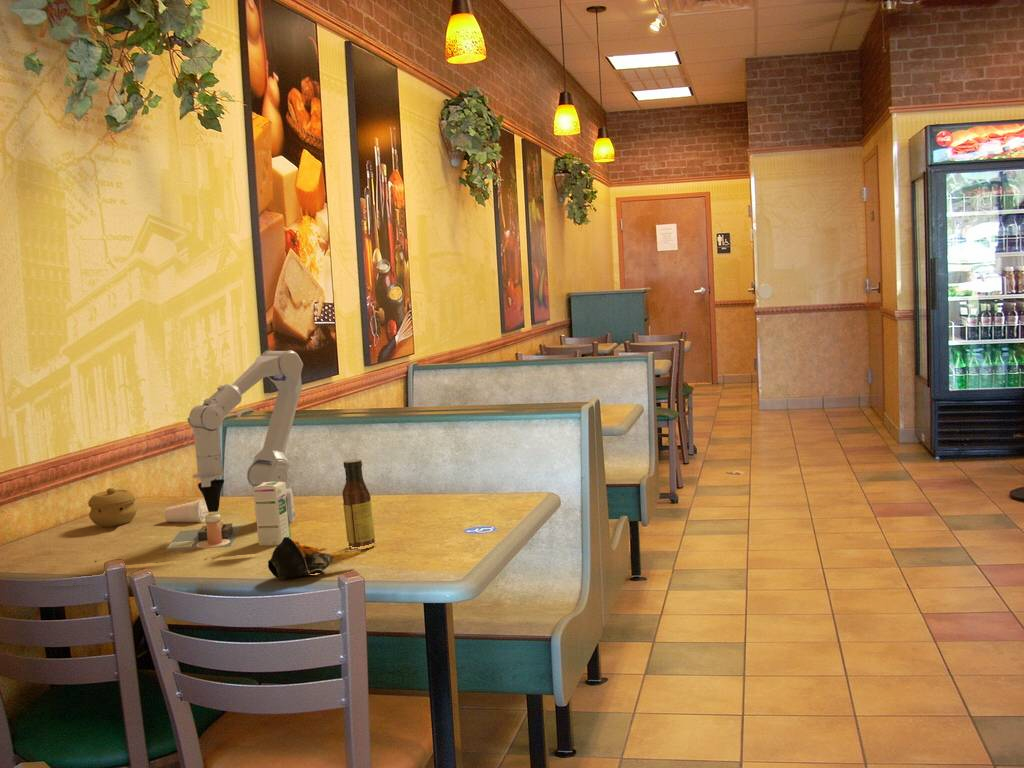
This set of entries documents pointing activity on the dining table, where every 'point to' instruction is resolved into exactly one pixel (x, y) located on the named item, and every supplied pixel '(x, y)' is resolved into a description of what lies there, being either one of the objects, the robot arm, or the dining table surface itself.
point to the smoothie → (187, 512)
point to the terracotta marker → (213, 529)
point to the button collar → (225, 532)
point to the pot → (112, 508)
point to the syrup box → (271, 512)
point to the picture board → (190, 541)
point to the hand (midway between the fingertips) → (213, 511)
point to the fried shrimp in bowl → (303, 559)
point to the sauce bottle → (357, 506)
